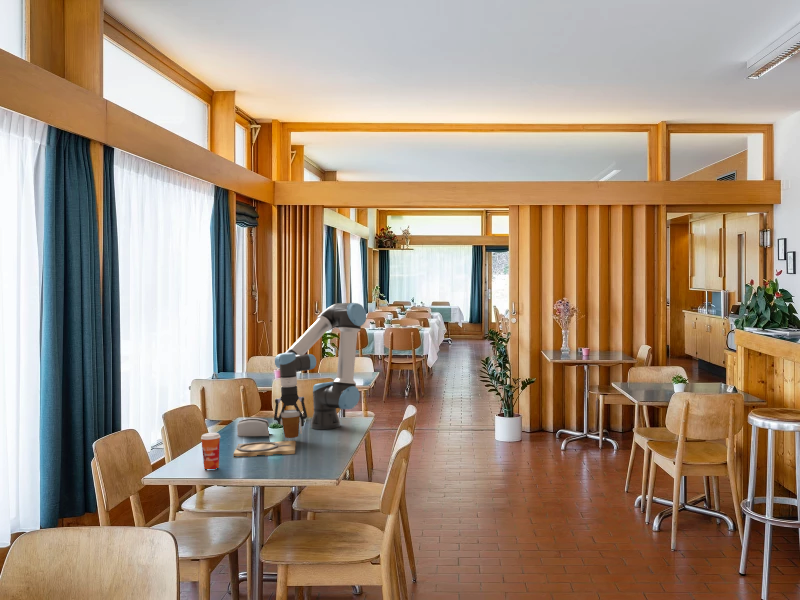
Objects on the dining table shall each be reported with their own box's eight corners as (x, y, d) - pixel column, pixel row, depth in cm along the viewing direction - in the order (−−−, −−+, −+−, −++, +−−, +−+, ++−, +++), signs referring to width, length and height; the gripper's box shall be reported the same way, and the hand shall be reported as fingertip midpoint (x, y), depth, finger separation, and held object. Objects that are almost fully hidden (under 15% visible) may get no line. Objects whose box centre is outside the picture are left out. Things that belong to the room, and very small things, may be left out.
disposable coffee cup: (279, 435, 330) (278, 410, 330) (299, 433, 333) (298, 408, 333) (283, 439, 321) (282, 414, 321) (303, 437, 324) (302, 411, 324)
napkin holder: (272, 433, 348) (270, 416, 344) (270, 438, 343) (267, 421, 340) (240, 434, 350) (237, 416, 346) (237, 439, 345) (234, 421, 342)
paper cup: (198, 471, 275) (197, 436, 275) (205, 466, 283) (204, 432, 283) (218, 471, 275) (217, 436, 275) (224, 466, 282) (223, 432, 282)
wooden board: (295, 444, 322) (295, 439, 322) (294, 453, 302) (294, 448, 302) (238, 447, 318) (238, 442, 318) (233, 457, 298) (233, 452, 298)
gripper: (265, 388, 322) (268, 437, 322) (311, 385, 324) (313, 433, 325) (266, 386, 329) (269, 433, 330) (311, 383, 332) (313, 430, 332)
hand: (291, 433), depth 327 cm, fingers closed on disposable coffee cup, 8 cm apart
